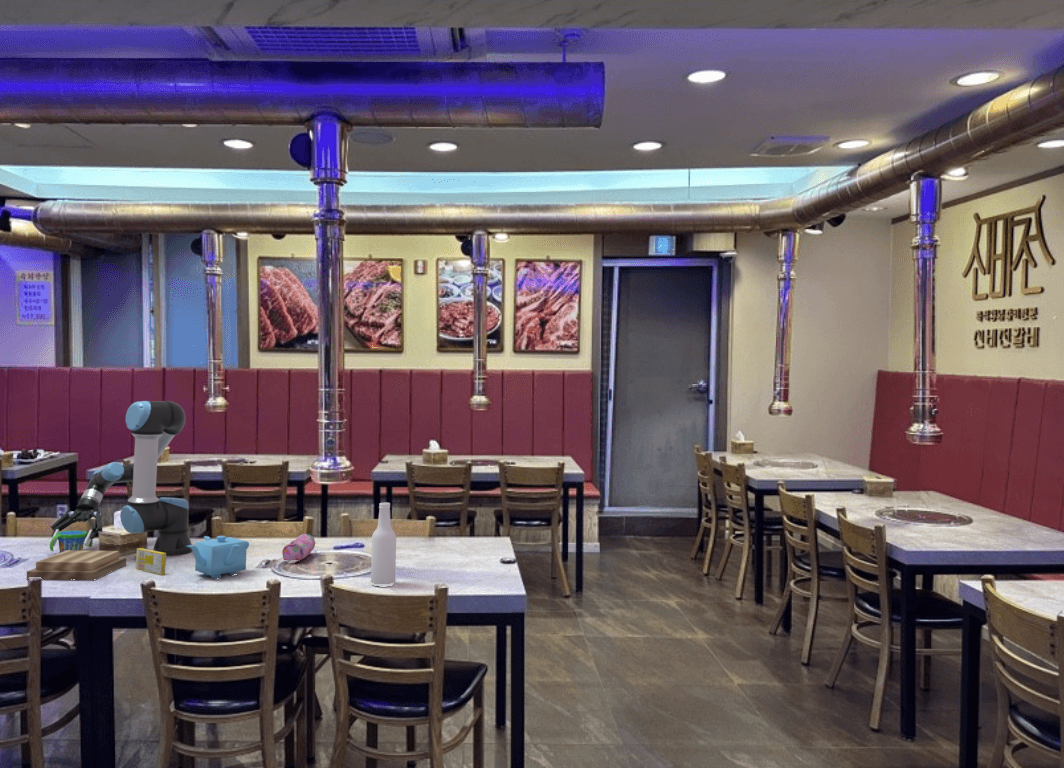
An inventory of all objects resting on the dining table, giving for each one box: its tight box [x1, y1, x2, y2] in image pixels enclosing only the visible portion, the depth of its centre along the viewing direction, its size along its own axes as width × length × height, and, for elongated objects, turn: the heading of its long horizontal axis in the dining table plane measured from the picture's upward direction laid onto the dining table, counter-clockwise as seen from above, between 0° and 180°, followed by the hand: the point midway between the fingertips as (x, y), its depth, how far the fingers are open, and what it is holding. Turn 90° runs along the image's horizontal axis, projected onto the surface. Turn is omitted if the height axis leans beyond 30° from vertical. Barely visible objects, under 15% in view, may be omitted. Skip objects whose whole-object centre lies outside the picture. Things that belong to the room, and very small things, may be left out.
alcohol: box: [370, 501, 397, 584], centre depth 284 cm, size 9×9×30 cm
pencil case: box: [282, 533, 316, 561], centre depth 323 cm, size 21×9×9 cm, turn 1°
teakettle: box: [187, 535, 250, 580], centre depth 293 cm, size 19×19×15 cm
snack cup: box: [49, 530, 94, 553], centre depth 316 cm, size 16×10×10 cm
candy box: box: [135, 547, 167, 576], centre depth 296 cm, size 16×2×8 cm, turn 59°
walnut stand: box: [26, 550, 127, 581], centre depth 293 cm, size 24×24×6 cm
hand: (68, 544), depth 316 cm, fingers open, 13 cm apart
